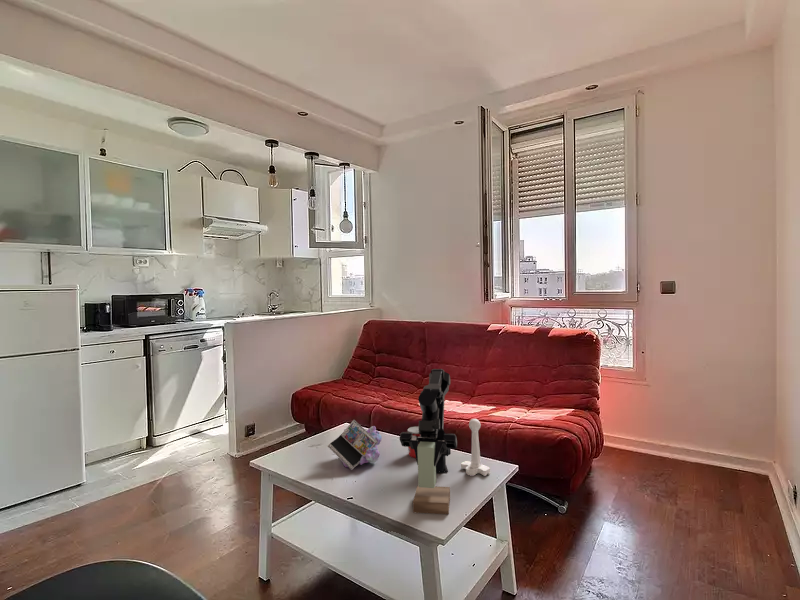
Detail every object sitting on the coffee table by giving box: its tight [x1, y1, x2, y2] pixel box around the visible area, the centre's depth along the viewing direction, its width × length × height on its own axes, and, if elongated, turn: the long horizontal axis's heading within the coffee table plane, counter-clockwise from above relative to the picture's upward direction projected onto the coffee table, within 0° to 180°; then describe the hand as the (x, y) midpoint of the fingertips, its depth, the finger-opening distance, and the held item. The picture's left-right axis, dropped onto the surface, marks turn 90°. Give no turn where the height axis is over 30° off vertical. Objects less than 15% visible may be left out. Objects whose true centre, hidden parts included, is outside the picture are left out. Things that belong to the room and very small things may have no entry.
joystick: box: [460, 418, 491, 477], centre depth 162 cm, size 11×8×20 cm
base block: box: [412, 485, 451, 515], centre depth 138 cm, size 11×11×4 cm
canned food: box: [406, 426, 420, 459], centre depth 181 cm, size 8×8×11 cm
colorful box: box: [326, 419, 382, 471], centre depth 176 cm, size 20×22×18 cm
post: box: [417, 441, 437, 488], centre depth 138 cm, size 5×5×13 cm
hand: (426, 465), depth 137 cm, fingers closed on post, 5 cm apart
